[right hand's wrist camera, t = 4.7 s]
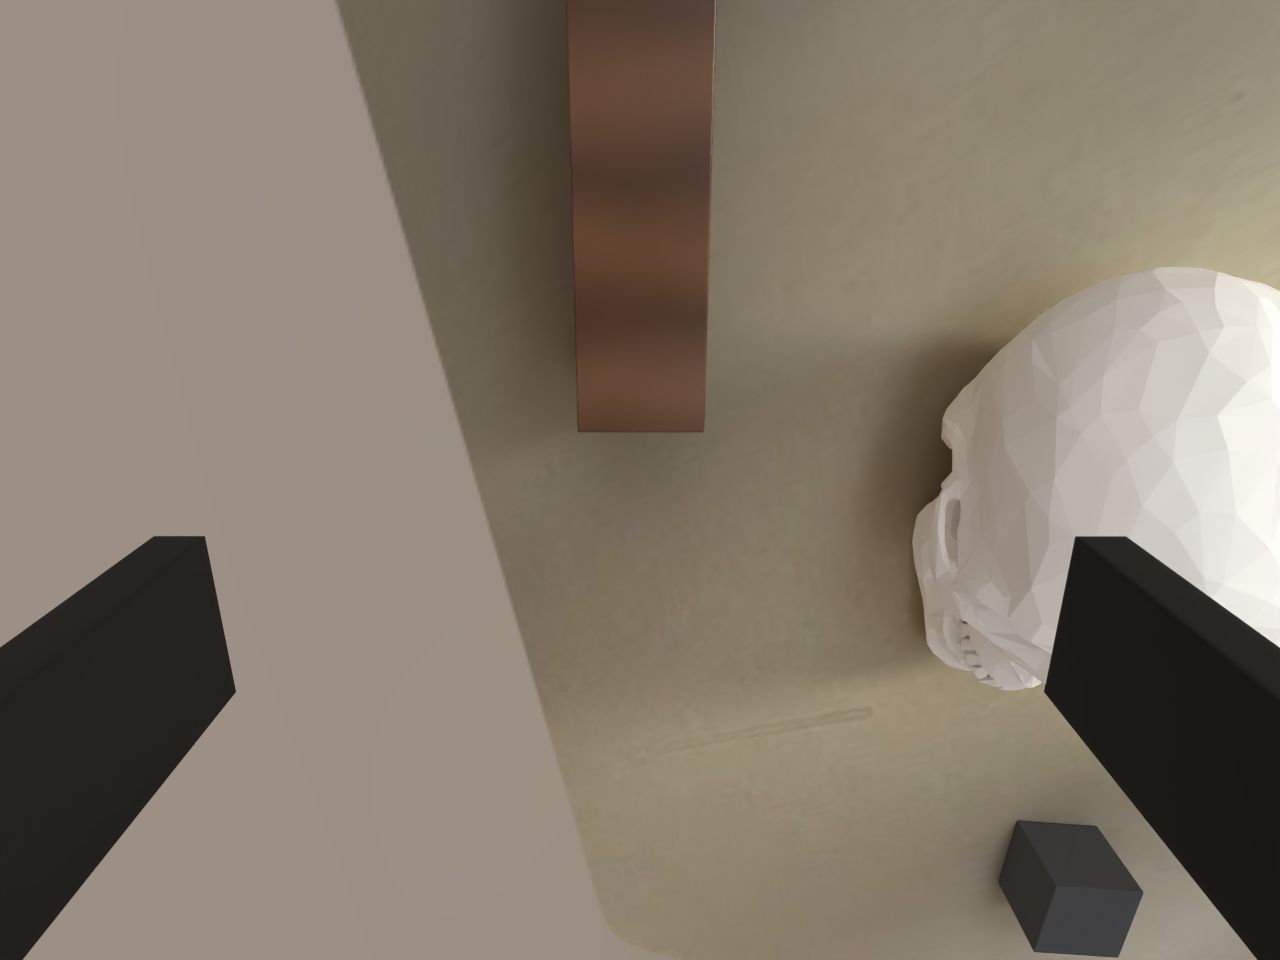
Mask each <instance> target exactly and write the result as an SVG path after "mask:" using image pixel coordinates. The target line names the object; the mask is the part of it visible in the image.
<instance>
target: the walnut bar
mask: <svg viewBox="0 0 1280 960" xmlns="http://www.w3.org/2000/svg"><path fill="white" fill-rule="evenodd" d="M566 4H567V41H568V79H569V117H570V155H571V193H572V230H573V268H574V306H575V344H576V381H577V419H578V432H704V416H705V381H706V347H707V312H708V277H709V242H710V208H711V173H712V138H713V103H714V69H715V34H716V0H566Z"/></svg>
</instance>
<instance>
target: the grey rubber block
mask: <svg viewBox="0 0 1280 960" xmlns="http://www.w3.org/2000/svg"><path fill="white" fill-rule="evenodd" d="M999 884H1000V886H1001V888H1002V890H1003V892H1004V894H1005V896H1006V898H1007V900H1008V902H1009V904H1010V906H1011V908H1012V910H1013V912H1014V914H1015V916H1016V917H1017V919H1018V921H1019V923H1020V925H1021V927H1022V929H1023V931H1024V933H1025V935H1026V937H1027V939H1028V941H1029V943H1030V945H1031V947H1032V949H1033V951H1034V952H1043V953H1058V954H1073V955H1088V956H1102V957H1118V956H1119V954H1120V951H1121V949H1122V946H1123V944H1124V941H1125V938H1126V936H1127V933H1128V931H1129V928H1130V926H1131V923H1132V921H1133V918H1134V915H1135V913H1136V910H1137V908H1138V905H1139V903H1140V900H1141V898H1142V895H1143V891H1142V889H1141V888H1140V887H1139V885H1138V884H1137V882H1136V881H1135V880H1134V878H1133V877H1132V875H1131V874H1130V873H1129V871H1128V870H1127V868H1126V867H1125V866H1124V864H1123V863H1122V861H1121V860H1120V858H1119V857H1118V856H1117V854H1116V853H1115V851H1114V850H1113V849H1112V847H1111V846H1110V844H1109V843H1108V842H1107V840H1106V839H1105V837H1104V836H1103V835H1102V833H1101V832H1100V830H1099V829H1098V828H1097V827H1096V826H1082V825H1068V824H1055V823H1041V822H1027V821H1018V822H1017V825H1016V828H1015V832H1014V835H1013V838H1012V841H1011V845H1010V848H1009V851H1008V854H1007V857H1006V861H1005V864H1004V867H1003V870H1002V874H1001V877H1000V880H999Z"/></svg>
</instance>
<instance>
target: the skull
mask: <svg viewBox="0 0 1280 960" xmlns="http://www.w3.org/2000/svg"><path fill="white" fill-rule="evenodd" d="M941 438H942V440H943V441H944V442H945V444H946V445H947V446H948V447H949V448H950V449H952V472H951V473H950V474H949V476H948V477H947V478H946V479H945V480H944V481H943V482H942V484H941V487H942V491H941V492H940V495H939V496H938V497H937V498H936V499H935V500H933V501H932V502H931V503H929V504H927V505H926V506H925V507H924V508H923V509H922V510H921V512H920V513H919V514H918V515H917V518H916V521H915V527H914V533H913V539H912V545H913V555H914V564H915V568H916V573H917V577H918V581H919V586H920V590H921V595H922V599H923V608H924V618H925V629H926V639H927V644H928V646H929V647H930V649H931V650H932V652H933V653H934V654H935V655H936V656H937V657H939V658H940V659H941V660H942V661H943V662H944V663H946V664H947V665H948V666H951V667H954V668H958V669H961V670H964V671H971V672H972V673H973V674H974V675H975V676H976V677H977V678H979V679H980V678H983V677H986V678H984V679H980V680H978V682H980V683H983V684H987V685H990V686H994V687H998V688H997V689H998V690H1013V691H1015V690H1019V689H1024V688H1029V687H1031V688H1033V687H1035V686H1037V685H1039V684H1041V683H1042V682H1043V683H1044V684H1045V685H1046V680H1047V675H1048V670H1049V665H1050V660H1051V655H1052V650H1053V645H1054V640H1055V635H1056V630H1057V625H1058V620H1059V615H1060V610H1061V605H1062V600H1063V595H1064V590H1065V585H1066V580H1067V575H1068V570H1069V565H1070V560H1071V555H1072V550H1073V545H1074V540H1075V536H1126V537H1128V538H1129V539H1130V540H1132V541H1133V542H1135V543H1136V544H1137V545H1139V546H1140V547H1141V548H1143V549H1144V550H1146V551H1147V552H1148V553H1150V554H1151V555H1152V556H1154V557H1155V558H1157V559H1158V560H1159V561H1161V562H1162V563H1164V564H1165V565H1166V566H1168V567H1169V568H1170V569H1172V570H1173V571H1175V572H1176V573H1177V574H1179V575H1180V576H1181V577H1183V578H1184V579H1186V580H1187V581H1188V582H1190V583H1191V584H1193V585H1194V586H1195V587H1197V588H1198V589H1199V590H1201V591H1202V592H1204V593H1205V594H1206V595H1208V596H1209V597H1211V598H1212V599H1213V600H1215V601H1216V602H1217V603H1219V604H1220V605H1222V606H1223V607H1224V608H1226V609H1227V610H1228V611H1230V612H1231V613H1233V614H1234V615H1235V616H1237V617H1238V618H1240V619H1241V620H1242V621H1244V622H1245V623H1246V624H1248V625H1249V626H1251V627H1252V628H1253V629H1255V630H1256V631H1257V632H1259V633H1260V634H1262V635H1263V636H1264V637H1266V638H1267V639H1269V640H1270V641H1271V642H1273V643H1274V644H1275V645H1277V646H1278V647H1280V291H1279V290H1277V289H1274V288H1272V287H1270V286H1268V285H1266V284H1264V283H1260V282H1255V281H1251V280H1246V279H1242V278H1237V277H1233V276H1230V275H1227V274H1224V273H1221V272H1218V271H1212V270H1207V269H1201V268H1196V267H1160V268H1155V269H1150V270H1145V271H1141V272H1136V273H1131V274H1126V275H1121V276H1117V277H1112V278H1109V279H1106V280H1104V281H1101V282H1098V283H1096V284H1094V285H1092V286H1090V287H1088V288H1085V289H1083V290H1081V291H1079V292H1077V293H1075V294H1073V295H1071V296H1069V297H1066V298H1064V299H1063V300H1061V301H1060V302H1058V303H1057V304H1055V305H1054V306H1052V307H1051V308H1049V309H1048V310H1046V311H1044V312H1043V313H1041V314H1040V315H1039V316H1038V317H1037V318H1036V319H1035V320H1033V321H1032V322H1031V323H1030V324H1029V325H1028V326H1027V327H1026V328H1024V329H1023V330H1022V331H1021V332H1020V333H1019V334H1018V335H1017V336H1015V337H1014V338H1013V339H1012V340H1011V341H1010V342H1009V343H1008V344H1006V345H1005V346H1004V347H1003V348H1002V349H1001V350H1000V351H999V352H998V353H997V354H996V355H995V356H994V357H993V358H992V359H991V360H990V361H989V362H988V363H987V365H986V366H985V367H984V368H983V369H982V370H981V371H980V373H979V374H978V375H977V376H976V377H975V378H974V379H973V380H972V381H971V382H970V383H969V384H968V385H967V386H964V388H963V389H962V391H961V392H960V393H959V394H958V396H957V397H956V398H955V399H954V400H953V402H952V403H951V404H950V405H949V407H948V408H947V409H946V412H945V414H944V417H943V419H942V435H941ZM964 621H965V622H967V623H968V624H965V623H964ZM966 636H970V639H967V638H966Z"/></svg>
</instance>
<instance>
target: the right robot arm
mask: <svg viewBox="0 0 1280 960" xmlns="http://www.w3.org/2000/svg"><path fill="white" fill-rule="evenodd" d="M235 692H236V690H235V685H234V680H233V675H232V670H231V665H230V660H229V655H228V650H227V645H226V640H225V635H224V630H223V625H222V620H221V615H220V610H219V605H218V600H217V595H216V590H215V585H214V580H213V575H212V570H211V565H210V560H209V555H208V550H207V545H206V540H205V537H204V536H154V537H152V538H151V539H150V540H148V541H147V542H146V543H144V544H143V545H141V546H140V547H139V548H137V549H136V550H134V551H133V552H132V553H130V554H129V555H128V556H126V557H125V558H123V559H122V560H121V561H119V562H118V563H117V564H115V565H114V566H112V567H111V568H110V569H108V570H107V571H105V572H104V573H103V574H101V575H100V576H99V577H97V578H96V579H94V580H93V581H92V582H90V583H89V584H87V585H86V586H85V587H83V588H82V589H81V590H79V591H78V592H76V593H75V594H74V595H72V596H71V597H69V598H68V599H67V600H65V601H64V602H63V603H61V604H60V605H59V606H57V607H56V608H54V609H53V610H52V611H50V612H49V613H47V614H46V615H45V616H43V617H42V618H41V619H39V620H38V621H36V622H35V623H34V624H32V625H31V626H29V627H28V628H27V629H25V630H24V631H23V632H21V633H20V634H18V635H17V636H16V637H14V638H13V639H11V640H10V641H9V642H7V643H6V644H5V645H3V646H2V647H0V960H23V958H24V957H25V956H26V955H27V953H28V952H29V951H30V950H31V948H32V947H33V946H34V945H35V943H36V942H37V941H38V940H39V938H40V937H41V936H42V935H43V933H44V932H45V931H46V930H47V928H48V927H49V926H50V925H51V923H52V922H53V921H54V920H55V918H56V917H57V916H58V915H59V913H60V912H61V911H62V910H63V908H64V907H65V906H66V904H67V903H68V902H69V901H70V899H71V898H72V897H73V896H74V894H75V893H76V892H77V891H78V889H79V888H80V887H81V886H82V884H83V883H84V882H85V881H86V879H87V878H88V877H89V876H90V874H91V873H92V872H93V871H94V869H95V868H96V867H97V866H98V864H99V863H100V862H101V861H102V859H103V858H104V857H105V855H106V854H107V853H108V852H109V851H110V849H111V848H112V847H113V845H114V844H115V843H116V842H117V840H118V839H119V838H120V837H121V835H122V834H123V833H124V832H125V830H126V829H127V828H128V827H129V825H130V824H131V823H132V822H133V820H134V819H135V818H136V817H137V815H138V814H139V813H140V812H141V810H142V809H143V808H144V807H145V805H146V804H147V803H148V801H149V800H150V799H151V798H152V797H153V795H154V794H155V793H156V792H157V790H158V789H159V788H160V787H161V785H162V784H163V783H164V781H165V780H166V779H167V778H168V776H169V775H170V774H171V773H172V771H173V770H174V769H175V768H176V766H177V765H178V764H179V763H180V761H181V760H182V759H183V758H184V756H185V755H186V754H187V753H188V751H189V750H190V749H191V748H192V746H193V745H194V744H195V742H196V741H197V740H198V739H199V738H200V736H201V735H202V734H203V733H204V731H205V730H206V729H207V727H208V726H209V725H210V724H211V722H212V721H213V720H214V719H215V717H216V716H217V715H218V714H219V712H220V711H221V710H222V709H223V707H224V706H225V705H226V704H227V702H228V701H229V700H230V699H231V697H232V696H233V695H234V694H235ZM1044 692H1045V694H1046V695H1047V696H1048V697H1049V699H1050V700H1051V701H1052V702H1053V704H1054V705H1055V706H1056V707H1057V709H1058V710H1059V711H1060V712H1061V714H1062V715H1063V716H1064V717H1065V719H1066V720H1067V721H1068V722H1069V724H1070V725H1071V726H1072V728H1073V729H1074V730H1075V731H1076V733H1077V734H1078V735H1079V736H1080V738H1081V739H1082V740H1083V741H1084V743H1085V744H1086V745H1087V746H1088V748H1089V749H1090V750H1091V751H1092V753H1093V754H1094V755H1095V756H1096V758H1097V759H1098V760H1099V761H1100V763H1101V764H1102V765H1103V766H1104V768H1105V769H1106V770H1107V771H1108V773H1109V774H1110V775H1111V776H1112V778H1113V779H1114V780H1115V781H1116V783H1117V784H1118V785H1119V787H1120V788H1121V789H1122V790H1123V792H1124V793H1125V794H1126V795H1127V797H1128V798H1129V799H1130V800H1131V802H1132V803H1133V804H1134V805H1135V807H1136V808H1137V809H1138V810H1139V812H1140V813H1141V814H1142V815H1143V817H1144V818H1145V819H1146V820H1147V822H1148V823H1149V824H1150V825H1151V827H1152V828H1153V829H1154V830H1155V832H1156V833H1157V834H1158V835H1159V837H1160V838H1161V839H1162V840H1163V842H1164V843H1165V844H1166V845H1167V847H1168V848H1169V849H1170V851H1171V852H1172V853H1173V854H1174V856H1175V857H1176V858H1177V859H1178V861H1179V862H1180V863H1181V864H1182V866H1183V867H1184V868H1185V869H1186V871H1187V872H1188V873H1189V874H1190V876H1191V877H1192V878H1193V879H1194V881H1195V882H1196V883H1197V884H1198V886H1199V887H1200V888H1201V889H1202V891H1203V892H1204V893H1205V894H1206V896H1207V897H1208V898H1209V899H1210V901H1211V902H1212V903H1213V904H1214V906H1215V907H1216V908H1217V910H1218V911H1219V912H1220V913H1221V915H1222V916H1223V917H1224V918H1225V920H1226V921H1227V922H1228V923H1229V925H1230V926H1231V927H1232V928H1233V930H1234V931H1235V932H1236V933H1237V935H1238V936H1239V937H1240V938H1241V940H1242V941H1243V942H1244V943H1245V945H1246V946H1247V947H1248V948H1249V950H1250V951H1251V952H1252V953H1253V955H1254V956H1255V957H1256V958H1257V960H1280V647H1278V646H1277V645H1275V644H1274V643H1273V642H1271V641H1270V640H1269V639H1267V638H1266V637H1264V636H1263V635H1262V634H1260V633H1259V632H1257V631H1256V630H1255V629H1253V628H1252V627H1251V626H1249V625H1248V624H1246V623H1245V622H1244V621H1242V620H1241V619H1240V618H1238V617H1237V616H1235V615H1234V614H1233V613H1231V612H1230V611H1228V610H1227V609H1226V608H1224V607H1223V606H1222V605H1220V604H1219V603H1217V602H1216V601H1215V600H1213V599H1212V598H1211V597H1209V596H1208V595H1206V594H1205V593H1204V592H1202V591H1201V590H1199V589H1198V588H1197V587H1195V586H1194V585H1193V584H1191V583H1190V582H1188V581H1187V580H1186V579H1184V578H1183V577H1181V576H1180V575H1179V574H1177V573H1176V572H1175V571H1173V570H1172V569H1170V568H1169V567H1168V566H1166V565H1165V564H1164V563H1162V562H1161V561H1159V560H1158V559H1157V558H1155V557H1154V556H1152V555H1151V554H1150V553H1148V552H1147V551H1146V550H1144V549H1143V548H1141V547H1140V546H1139V545H1137V544H1136V543H1135V542H1133V541H1132V540H1130V539H1129V538H1128V537H1126V536H1075V540H1074V545H1073V550H1072V555H1071V560H1070V565H1069V570H1068V575H1067V580H1066V585H1065V590H1064V595H1063V600H1062V605H1061V610H1060V615H1059V620H1058V625H1057V630H1056V635H1055V640H1054V645H1053V650H1052V655H1051V660H1050V665H1049V670H1048V675H1047V680H1046V685H1045V690H1044Z"/></svg>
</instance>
